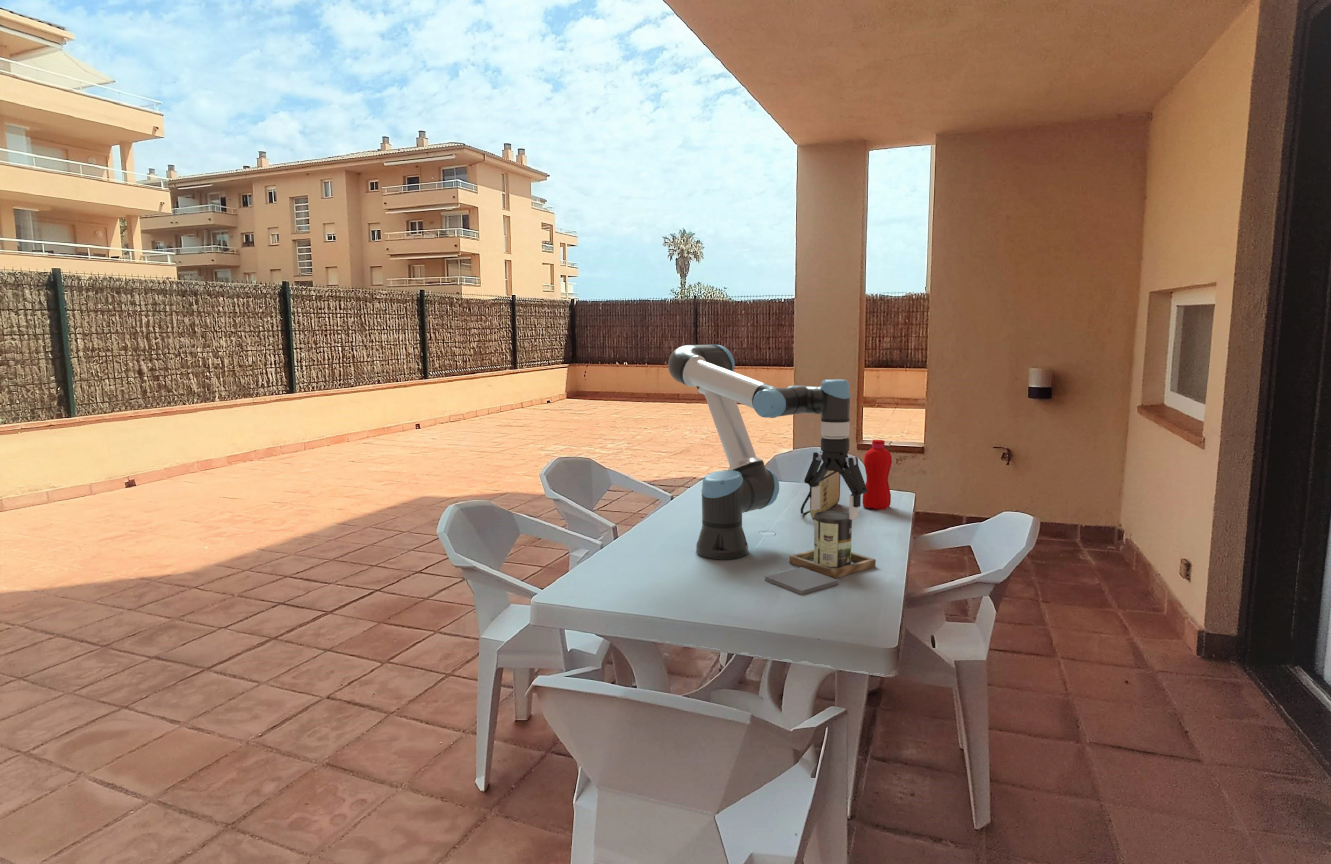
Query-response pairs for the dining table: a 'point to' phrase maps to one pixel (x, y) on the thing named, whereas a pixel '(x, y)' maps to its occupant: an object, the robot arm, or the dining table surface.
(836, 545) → the coffee can
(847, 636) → the dining table surface
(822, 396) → the robot arm
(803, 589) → the mat
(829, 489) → the clutch purse
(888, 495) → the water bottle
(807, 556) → the frame
